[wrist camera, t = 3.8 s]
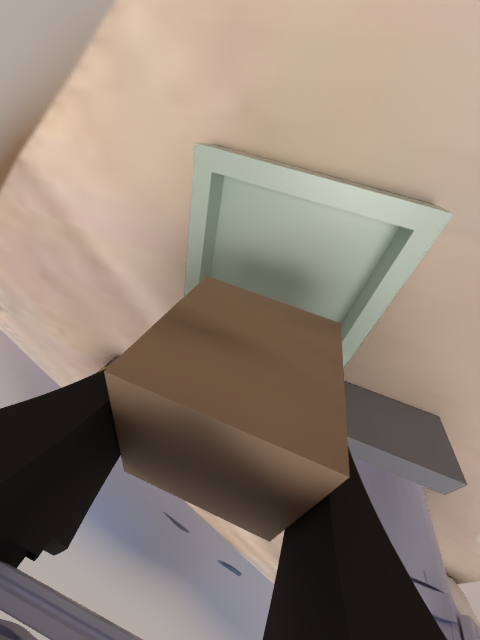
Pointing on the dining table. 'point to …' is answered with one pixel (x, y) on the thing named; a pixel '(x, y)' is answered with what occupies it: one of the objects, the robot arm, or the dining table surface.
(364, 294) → the tray
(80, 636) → the robot arm
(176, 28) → the dining table surface
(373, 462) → the block
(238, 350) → the brown block
